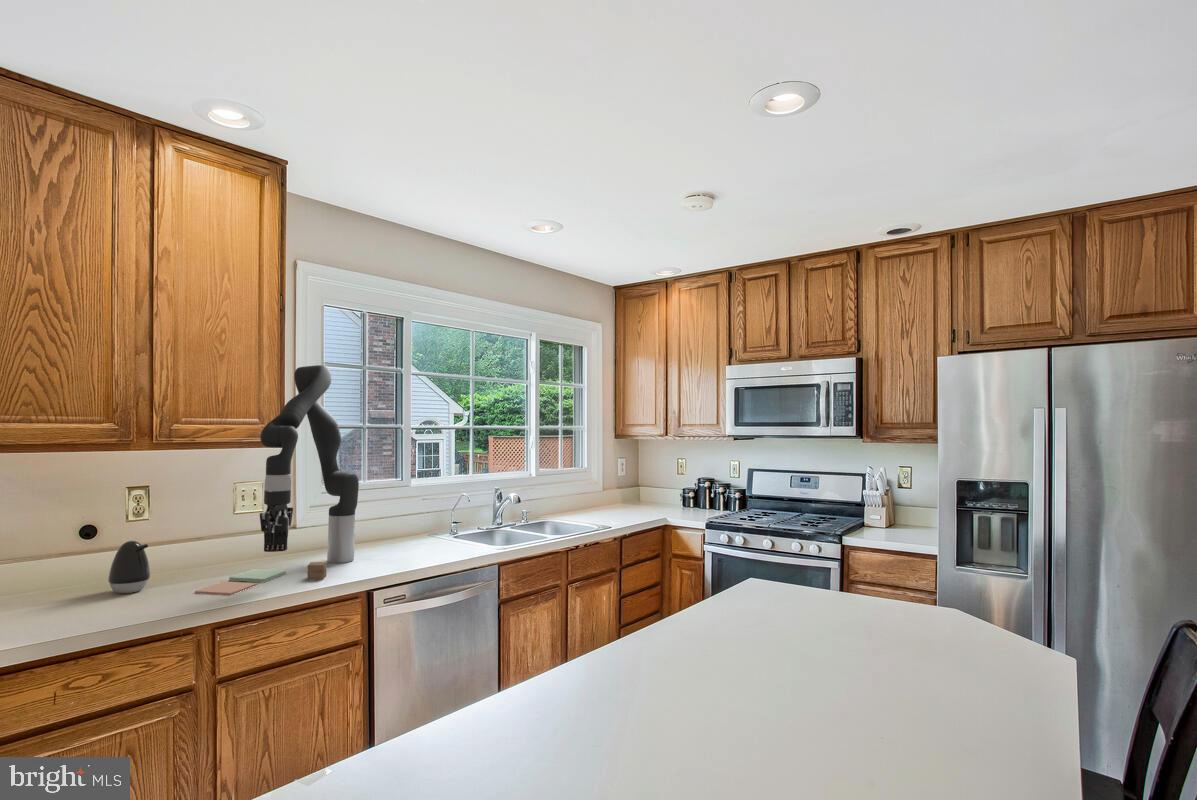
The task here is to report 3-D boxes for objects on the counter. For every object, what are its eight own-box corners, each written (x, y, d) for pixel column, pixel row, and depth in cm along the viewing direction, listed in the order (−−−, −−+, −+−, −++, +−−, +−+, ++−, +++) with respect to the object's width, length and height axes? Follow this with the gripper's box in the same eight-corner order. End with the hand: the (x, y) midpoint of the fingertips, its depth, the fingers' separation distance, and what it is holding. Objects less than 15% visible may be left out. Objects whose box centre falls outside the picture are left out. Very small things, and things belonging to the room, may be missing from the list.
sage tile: (253, 572, 220) (253, 568, 220) (285, 574, 218) (286, 570, 218) (229, 580, 208) (229, 577, 208) (263, 582, 206) (263, 579, 206)
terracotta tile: (222, 585, 205) (223, 581, 205) (257, 587, 203) (257, 583, 203) (194, 595, 193) (194, 591, 193) (231, 597, 191) (231, 593, 191)
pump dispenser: (132, 596, 188) (134, 544, 188) (98, 595, 189) (101, 543, 189) (158, 587, 198) (160, 538, 199) (126, 586, 199) (128, 537, 199)
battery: (261, 553, 198) (263, 516, 198) (263, 550, 202) (265, 514, 202) (286, 552, 200) (287, 515, 201) (288, 549, 204) (289, 513, 204)
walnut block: (310, 576, 216) (310, 562, 216) (326, 576, 217) (326, 561, 217) (307, 580, 211) (307, 565, 211) (323, 580, 212) (323, 564, 212)
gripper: (280, 486, 209) (278, 538, 209) (251, 490, 195) (249, 546, 195) (302, 486, 208) (300, 539, 208) (274, 491, 194) (272, 547, 194)
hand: (275, 542), depth 201 cm, fingers closed on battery, 5 cm apart
